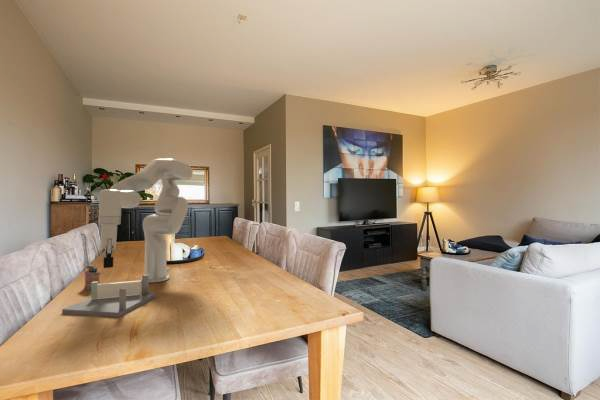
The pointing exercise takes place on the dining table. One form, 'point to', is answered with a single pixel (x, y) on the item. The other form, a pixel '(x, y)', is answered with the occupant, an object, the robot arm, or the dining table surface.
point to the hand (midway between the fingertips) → (108, 267)
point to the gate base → (112, 303)
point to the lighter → (91, 276)
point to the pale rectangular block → (114, 289)
